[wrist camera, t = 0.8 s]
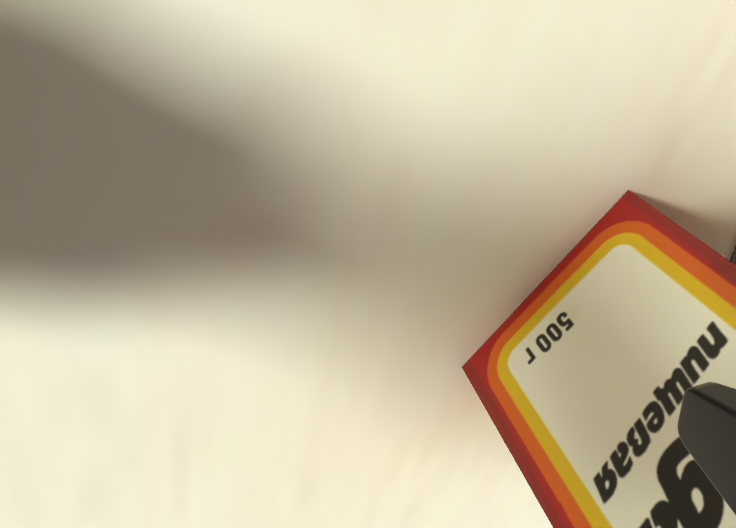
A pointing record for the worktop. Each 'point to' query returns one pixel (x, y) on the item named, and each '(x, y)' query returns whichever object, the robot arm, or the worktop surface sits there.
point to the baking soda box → (615, 374)
